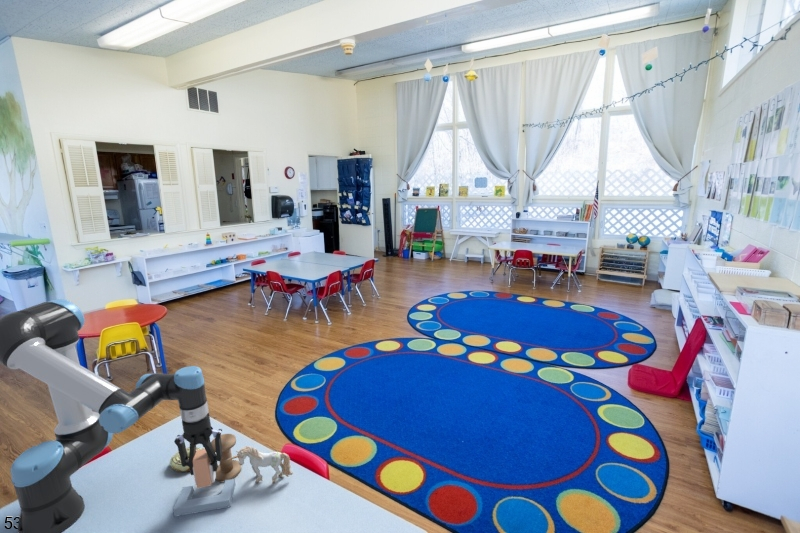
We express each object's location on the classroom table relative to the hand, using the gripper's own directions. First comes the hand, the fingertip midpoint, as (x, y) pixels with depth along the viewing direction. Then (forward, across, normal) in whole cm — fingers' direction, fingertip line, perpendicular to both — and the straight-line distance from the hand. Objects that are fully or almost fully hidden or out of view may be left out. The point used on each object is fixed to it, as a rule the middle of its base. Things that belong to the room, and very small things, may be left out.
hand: (206, 480), depth 126 cm
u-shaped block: (+6, 0, -2) cm, 6 cm away
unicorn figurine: (+6, +17, +1) cm, 18 cm away
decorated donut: (+6, -11, +18) cm, 22 cm away
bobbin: (+6, +4, +10) cm, 12 cm away
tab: (0, 0, 0) cm, 0 cm away
